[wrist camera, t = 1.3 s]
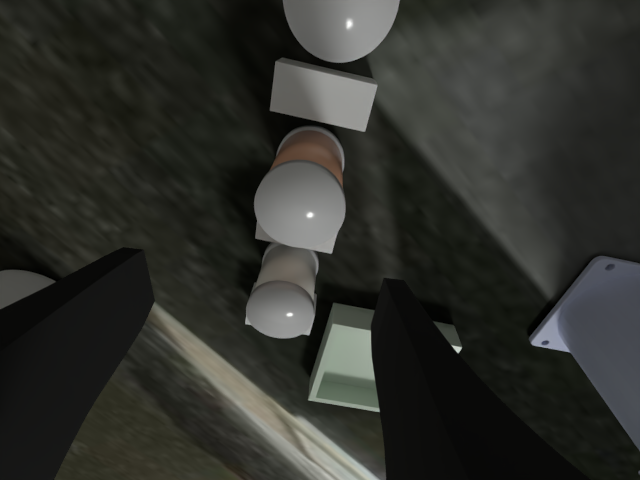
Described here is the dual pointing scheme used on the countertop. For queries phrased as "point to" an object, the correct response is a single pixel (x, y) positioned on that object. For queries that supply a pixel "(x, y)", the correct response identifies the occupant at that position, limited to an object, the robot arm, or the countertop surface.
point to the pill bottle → (20, 285)
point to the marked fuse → (303, 189)
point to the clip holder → (319, 109)
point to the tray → (352, 359)
